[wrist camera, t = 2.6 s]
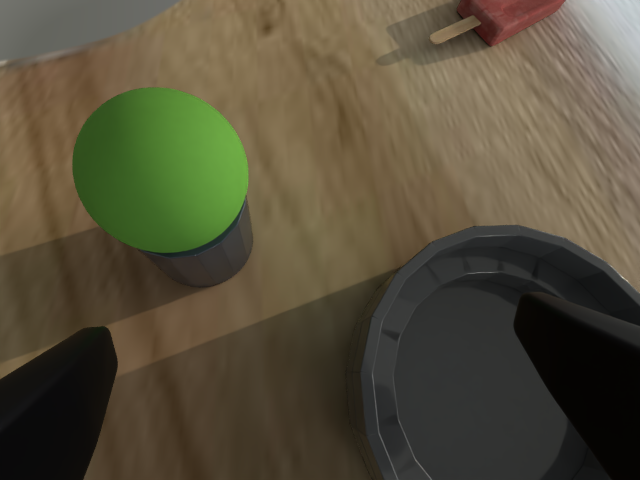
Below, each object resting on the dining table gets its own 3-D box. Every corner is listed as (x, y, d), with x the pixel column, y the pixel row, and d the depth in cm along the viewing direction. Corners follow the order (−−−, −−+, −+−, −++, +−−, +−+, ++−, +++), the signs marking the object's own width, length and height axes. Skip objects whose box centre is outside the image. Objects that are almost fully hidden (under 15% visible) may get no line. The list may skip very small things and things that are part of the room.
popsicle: (416, 11, 29) (547, -45, 33) (408, 30, 30) (534, -25, 34) (454, 52, 28) (585, -11, 32) (444, 71, 29) (569, 8, 33)
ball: (228, 287, 17) (201, 240, 11) (90, 249, 17) (-11, 182, 11) (269, 168, 19) (265, 75, 13) (147, 134, 19) (88, 26, 13)
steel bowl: (625, 595, 19) (723, 658, 15) (313, 513, 19) (323, 554, 15) (616, 287, 25) (686, 270, 20) (375, 222, 24) (395, 190, 20)
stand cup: (235, 298, 22) (220, 272, 16) (137, 272, 22) (89, 237, 16) (264, 210, 24) (260, 159, 18) (175, 185, 24) (143, 127, 18)
